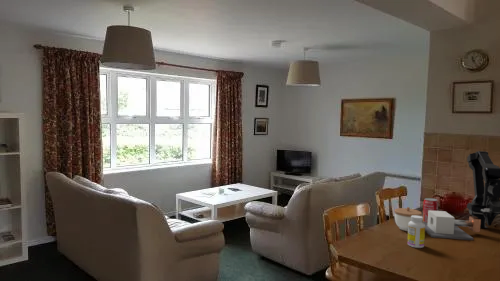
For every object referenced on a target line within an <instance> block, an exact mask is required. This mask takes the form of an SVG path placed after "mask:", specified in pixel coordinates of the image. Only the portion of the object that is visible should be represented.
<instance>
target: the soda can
mask: <svg viewBox="0 0 500 281" xmlns="http://www.w3.org/2000/svg"><path fill="white" fill-rule="evenodd" d="M428 210H431V211H439V202H438V199H436V198H431V197H425V198H424V200H423V203H422V217H423V221H422V223H424V224H427V223H428Z"/></svg>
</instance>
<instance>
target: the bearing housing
mask: <svg viewBox="0 0 500 281" xmlns="http://www.w3.org/2000/svg"><path fill="white" fill-rule="evenodd" d="M454 220H456V219H455V217H454V216H453V215H451V214H450V213H448V212H447V211H444V210H438V211H431V210H428V223H427V224H425V223H424V224H425V233H427V234H428V236H430V237H431V238H435V239H436V238H437V239H449V240H450V239H452V240H454V239H455V240H465V241H474V237H472V236H471V235H470V234H469V233H467V232H466V231H464V230H463V229H461V227H460V226H454Z"/></svg>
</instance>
